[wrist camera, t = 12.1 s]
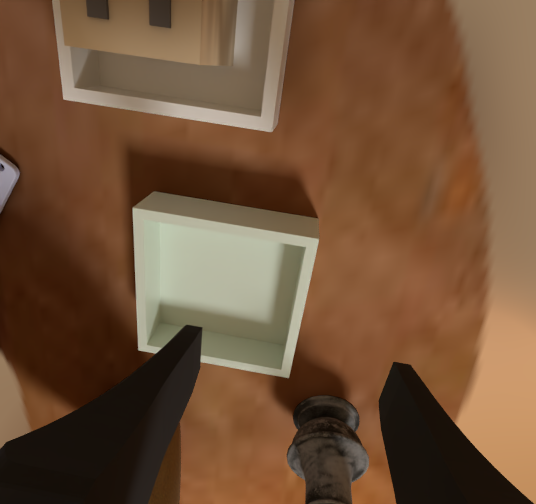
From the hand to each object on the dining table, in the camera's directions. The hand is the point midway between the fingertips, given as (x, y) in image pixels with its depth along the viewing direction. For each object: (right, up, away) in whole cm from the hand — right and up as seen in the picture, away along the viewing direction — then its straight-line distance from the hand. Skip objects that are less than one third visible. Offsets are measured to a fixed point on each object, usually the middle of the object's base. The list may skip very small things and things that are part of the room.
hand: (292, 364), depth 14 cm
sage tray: (-4, +3, +11) cm, 12 cm away
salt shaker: (+4, -9, +16) cm, 19 cm away
